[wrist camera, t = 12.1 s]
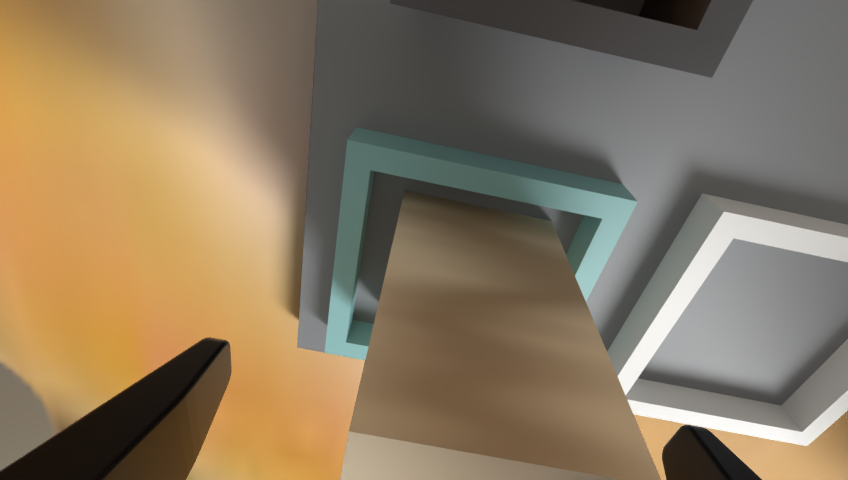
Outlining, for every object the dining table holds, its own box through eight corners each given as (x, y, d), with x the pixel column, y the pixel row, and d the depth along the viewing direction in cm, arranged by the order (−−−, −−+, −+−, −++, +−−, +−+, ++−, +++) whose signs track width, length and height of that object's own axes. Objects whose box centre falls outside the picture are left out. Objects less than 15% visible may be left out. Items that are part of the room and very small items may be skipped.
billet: (551, 220, 11) (663, 487, 5) (506, 329, 13) (550, 609, 7) (404, 189, 11) (349, 431, 5) (382, 305, 13) (323, 573, 7)
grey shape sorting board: (1469, -276, 7) (2264, -480, 4) (775, 415, 16) (849, 513, 13) (374, -618, 6) (294, -1245, 3) (306, 327, 15) (270, 411, 12)
